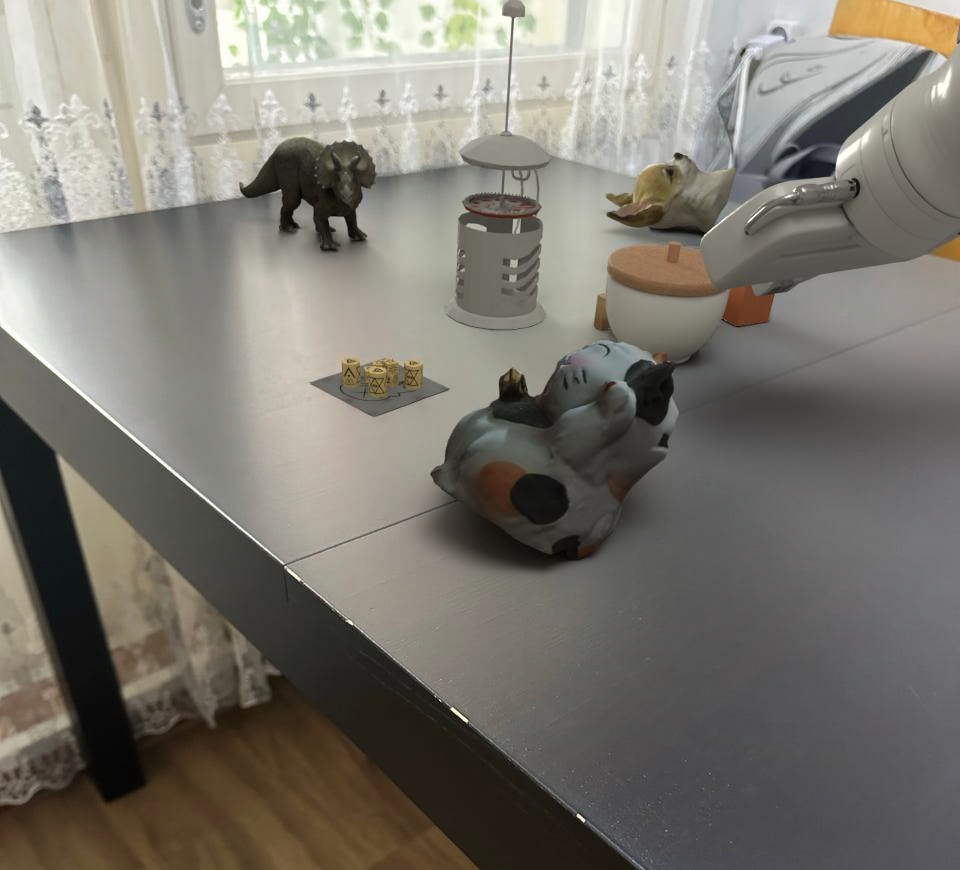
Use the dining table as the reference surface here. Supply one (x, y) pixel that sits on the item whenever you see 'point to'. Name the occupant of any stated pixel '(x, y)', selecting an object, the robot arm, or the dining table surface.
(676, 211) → the ceramic sculpture
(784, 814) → the dining table surface
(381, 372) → the dice set
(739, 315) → the terracotta block
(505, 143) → the french press
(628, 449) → the lucky cat figurine
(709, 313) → the trinket box
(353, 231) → the toy dinosaur
